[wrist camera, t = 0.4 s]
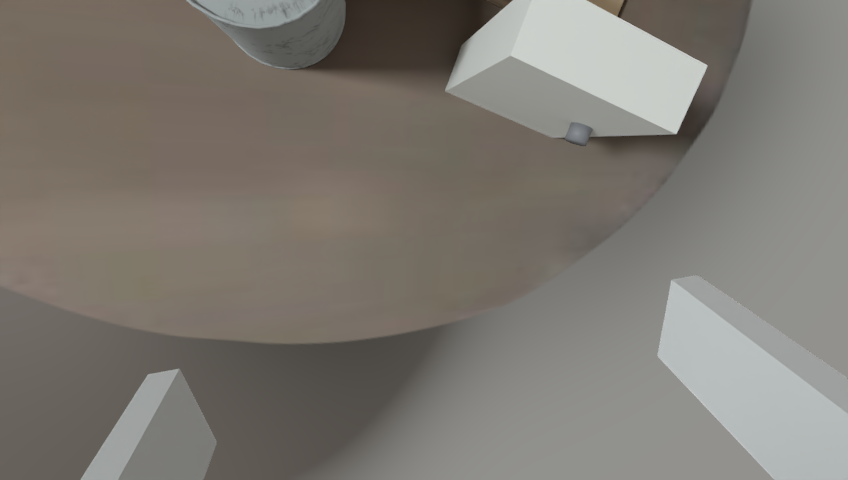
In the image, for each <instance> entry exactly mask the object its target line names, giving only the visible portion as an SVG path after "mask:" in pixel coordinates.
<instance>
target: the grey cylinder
mask: <svg viewBox="0 0 848 480" xmlns="http://www.w3.org/2000/svg"><path fill="white" fill-rule="evenodd" d="M187 1H188V2H189V3H190V4H191V5H192V6H193V7H195V8H196V9H198V10H200V11H201V12H203V13H204V14H205V15H206V16H207V17H208V18H209V19H211V20H212V21H213V22H214V23H215V24H216V25H217V26H218V27H219V28H221V29H222V30H223V31H224V32H225V33H226V34H227V35H228V36H229V37H231V38H232V39H233V40H234V41H235V43H236V44H237V45H238V46H239V47H240V48H241V49H242V50H243V51H244V52H246V53H247V54H248V55H249V56H250V57H252V58H254V59H256V60H257V61H259V62H261V63H262V64H265V65H268V66H271V67H274V68H279V69H289V70H291V69H299V68H305V67H307V66H310V65H313V64H315V63H317V62H318V61H320V60H321V59H323V58H324V57H326V56H327V55H328V54H329V53H330V51H331V50H332V49H333V48H334V47H335V46H336V44H337V42H338V40H339V38H340V36H341V34H342V31H343V27H344V23H345V15H346V2H345V0H187Z"/></svg>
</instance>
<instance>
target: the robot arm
mask: <svg viewBox="0 0 848 480" xmlns="http://www.w3.org/2000/svg"><path fill="white" fill-rule="evenodd" d="M658 357H659V358H660V359H661V360H662V361H663V363H664V364H665V365H666V366H667V367H668V368H669V369H670V370H671V371H672V372H673V373H674V374H675V375H676V376H677V377H678V378H679V379H680V381H682V383H684V385H685V386H686V387H687V388H688V389H689V390H690V391H691V392H692V393H693V394H694V395H695V396H696V397H697V398H698V400H699V401H700V402H701V403H702V404H703V405H704V406H705V407H706V408H707V409H708V410H709V411H710V412H711V413H712V414H713V415H714V416H715V417H716V419H717V420H718V421H719V422H721V424H722V425H723V426H724V427H725V428H726V429H727V430H728V431H729V432H730V433H731V434H732V435H733V436H734V438H735V439H736V440H737V441H738V442H739V443H740V444H741V445H742V446H743V447H744V448H745V449H746V450H747V451H748V452H749V453H750V454H751V455H752V456H753V458H754V459H755V460H756V461H757V462H758V463H759V464H760V465H761V466H762V467H763V468H764V469H765V470H766V471H767V472H768V473H769V474H770V475H771V477H772V478H773V479H774V480H848V378H847V377H845V376H844V375H842V374H841V373H839V372H838V371H836V370H835V369H833V368H832V367H831V366H829V365H828V364H826V363H825V362H823V361H822V360H820V359H819V358H818V357H816V356H815V355H813V354H812V353H810V352H809V351H807V350H806V349H805V348H803V347H802V346H800V345H799V344H797V343H796V342H794V341H793V340H791V339H790V338H789V337H787V336H785V335H784V334H783V333H781V332H780V331H778V330H777V329H775V328H774V327H772V326H771V325H770V324H768V323H767V322H765V321H764V320H762V319H761V318H760V317H758V316H757V315H755V314H754V313H752V312H751V311H749V310H748V309H746V308H745V307H743V306H742V305H740V304H739V303H738V302H736V301H735V300H733V299H732V298H730V297H729V296H727V295H726V294H725V293H723V292H722V291H720V290H719V289H717V288H716V287H714V286H713V285H712V284H710V283H709V282H707V281H706V280H704V279H703V278H701V277H700V276H698V275H694V276H688V277H683V278H677V279H672V280H671V285H670V290H669V296H668V302H667V307H666V312H665V317H664V324H663V329H662V334H661V340H660V345H659V350H658ZM216 443H217V442H216V440H215V438H214V436H213V434H212V432H211V430H210V428H209V426H208V424H207V422H206V420H205V418H204V416H203V414H202V412H201V410H200V408H199V406H198V404H197V402H196V400H195V398H194V396H193V395H192V392H191V390H190V388H189V387H188V384H187V382H186V381H185V379H184V377H183V375H182V373H181V371H180V369H175V370H170V371H164V372H159V373H154V374H148V375H147V377H146V379H145V380H144V381H143V383H142V385H141V386H140V388H139V390H138V391H137V392H136V394H135V395H134V397H133V399H132V400H131V402H130V403H129V405H128V406H127V408H126V410H125V411H124V413H123V414H122V416H121V417H120V419H119V421H118V422H117V424H116V425H115V427H114V428H113V430H112V431H111V433H110V435H109V436H108V438H107V439H106V441H105V443H104V444H103V445H102V447H101V449H100V450H99V452H98V453H97V455H96V456H95V458H94V459H93V461H92V463H91V464H90V466H89V467H88V469H87V470H86V472H85V474H84V475H83V477H82V478H81V480H203V479H204V477H205V474H206V471H207V468H208V465H209V463H210V459H211V457H212V454H213V451H214V449H215V446H216Z"/></svg>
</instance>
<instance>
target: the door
mask: <svg viewBox="0 0 848 480" xmlns="http://www.w3.org/2000/svg"><path fill="white" fill-rule="evenodd" d="M706 68H707V65H706V64H704V63H702V62H700V61H698V60H696V59H694V58H693V57H691V56H689V55H687V54H685V53H683V52H681V51H680V50H678V49H676V48H674V47H672V46H670V45H668V44H667V43H665V42H663V41H661V40H659V39H657V38H655V37H654V36H652V35H650V34H648V33H646V32H644V31H643V30H641V29H639V28H637V27H635V26H633V25H631V24H630V23H628V22H626V21H624V20H622V19H620V18H618V17H617V16H615V15H613V14H611V13H609V12H607V11H605V10H604V9H602V8H600V7H598V6H596V5H594V4H592V3H591V2H589V1H587V0H513V1H511V2H510V3H509V4H508V5H507V6H506V7H505V8H503V9H502V10H501V11H500V12H499V13H498V14H497V15H495V16H494V17H493V18H492V19H491V20H490V21H489V22H487V23H486V24H485V25H484V26H483V27H482V28H481V29H479V30H478V31H477V32H476V33H475V34H474V35H473V36H471V37H470V38H469V39H468V40H467V41H466V42H465V43H463V44H462V45H461V48H460V51H459V54H458V56H457V59H456V62H455V65H454V68H453V70H452V73H451V76H450V79H449V81H448V84H447V87H446V90H445V92H447V93H450V94H452V95H454V96H457V97H459V98H461V99H464V100H466V101H468V102H471V103H473V104H475V105H478V106H480V107H482V108H485V109H487V110H489V111H492V112H494V113H496V114H498V115H501V116H503V117H505V118H508V119H510V120H512V121H515V122H517V123H519V124H522V125H524V126H526V127H529V128H531V129H533V130H536V131H538V132H540V133H543V134H545V135H547V136H550V137H552V138H565V140H566V141H568V142H570V143H573V144H576V145H580V146H586V144H587V142H588V140H589V137H600V136H634V135H669V134H677V132H678V130H679V128H680V125H681V123H682V121H683V119H684V117H685V114H686V112H687V110H688V108H689V106H690V103H691V101H692V99H693V97H694V95H695V92H696V90H697V88H698V86H699V84H700V82H701V79H702V77H703V75H704V73H705V71H706Z"/></svg>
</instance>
